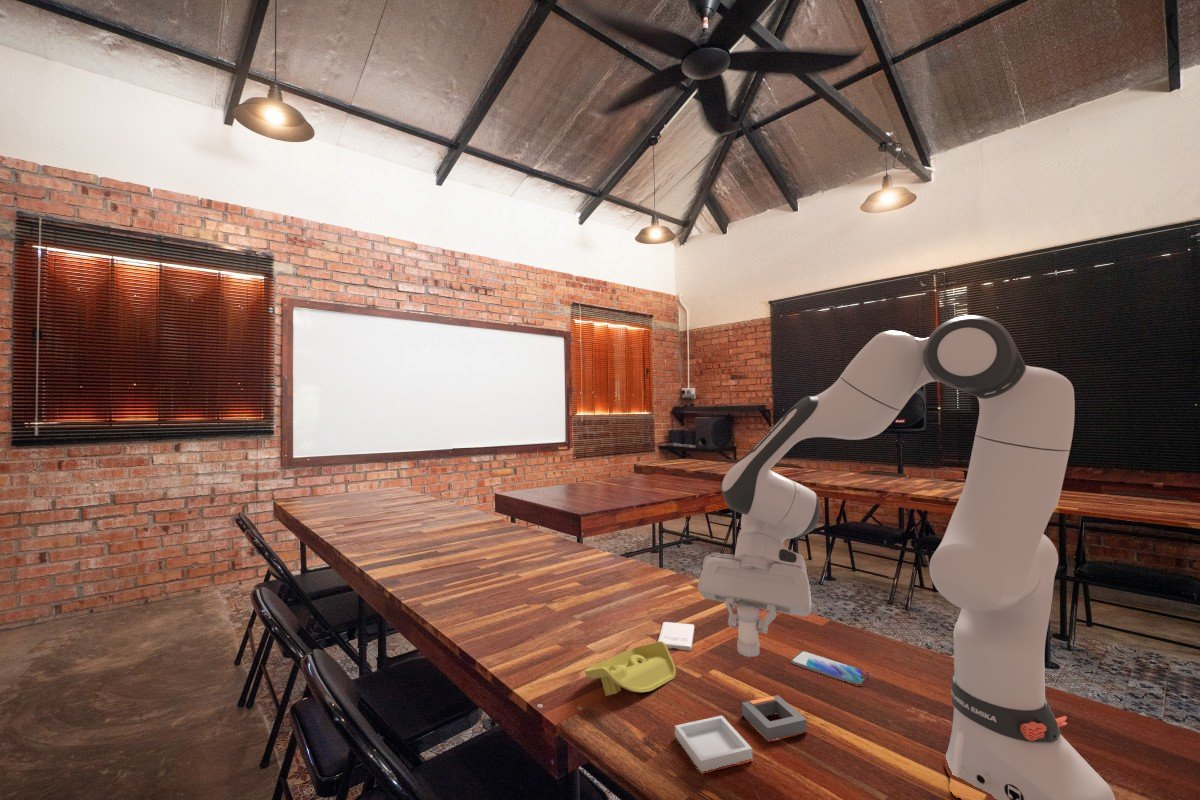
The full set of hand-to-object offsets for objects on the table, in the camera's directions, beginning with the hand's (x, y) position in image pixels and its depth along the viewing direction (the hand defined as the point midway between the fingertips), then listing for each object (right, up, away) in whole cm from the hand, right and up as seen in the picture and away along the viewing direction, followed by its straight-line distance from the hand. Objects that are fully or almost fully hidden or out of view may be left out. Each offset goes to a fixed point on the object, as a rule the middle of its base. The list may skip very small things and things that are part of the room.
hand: (747, 628), depth 91 cm
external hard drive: (-7, -20, +38) cm, 43 cm away
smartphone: (+24, -19, +22) cm, 38 cm away
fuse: (0, -4, +1) cm, 4 cm away
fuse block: (+5, -19, +2) cm, 20 cm away
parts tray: (-7, -19, -4) cm, 20 cm away
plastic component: (-20, -20, +17) cm, 33 cm away
